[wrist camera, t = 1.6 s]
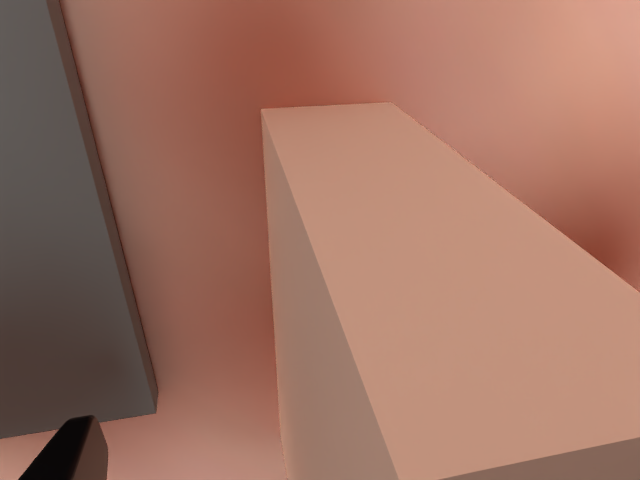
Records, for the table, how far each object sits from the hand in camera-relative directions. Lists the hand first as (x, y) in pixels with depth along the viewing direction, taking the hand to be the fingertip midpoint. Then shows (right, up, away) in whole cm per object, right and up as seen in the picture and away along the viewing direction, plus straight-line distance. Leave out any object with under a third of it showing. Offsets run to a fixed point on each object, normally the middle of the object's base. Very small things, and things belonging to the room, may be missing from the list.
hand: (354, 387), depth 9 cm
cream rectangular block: (-1, +1, +2) cm, 3 cm away
